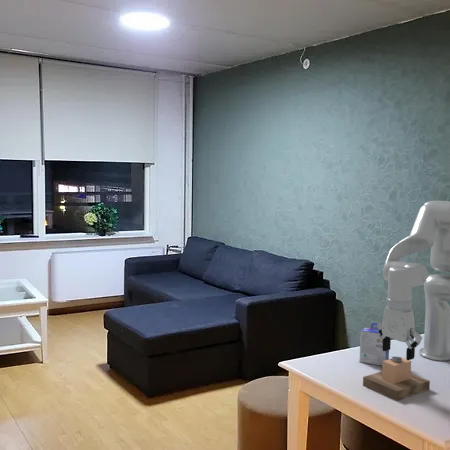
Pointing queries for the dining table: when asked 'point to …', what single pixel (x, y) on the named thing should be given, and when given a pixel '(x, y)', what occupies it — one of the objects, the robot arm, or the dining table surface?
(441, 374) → the dining table surface
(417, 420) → the dining table surface
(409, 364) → the block
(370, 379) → the wooden square tile
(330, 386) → the dining table surface
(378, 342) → the ink cartridge box
